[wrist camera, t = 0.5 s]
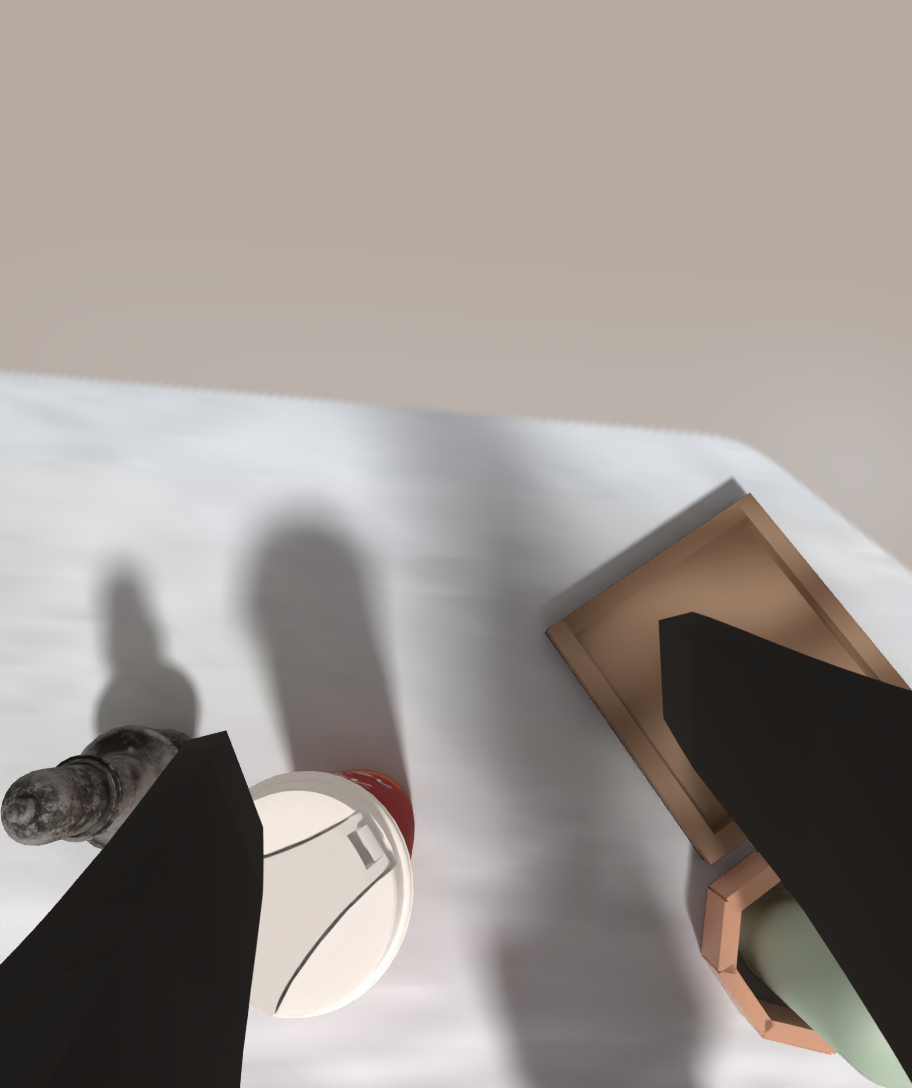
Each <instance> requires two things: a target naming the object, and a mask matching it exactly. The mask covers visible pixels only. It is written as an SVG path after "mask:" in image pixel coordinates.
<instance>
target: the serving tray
mask: <svg viewBox="0 0 912 1088" xmlns="http://www.w3.org/2000/svg"><path fill="white" fill-rule="evenodd" d="M689 612H695V613H699V614H702V615H705V616H708V617H710V618H713V619H716V620H718V621H721V622H724V623H726V624H729V625H731V626H734V627H737V628H739V629H742V630H744V631H747V632H749V633H752V634H754V635H757V636H759V637H762V638H764V639H767V640H769V641H772V642H774V643H777V644H779V645H782V646H784V647H787V648H790V649H792V650H795V651H797V652H800V653H803V654H805V655H808V656H811V657H813V658H816V659H819V660H821V661H824V662H827V663H830V664H832V665H835V666H838V667H841V668H844V669H846V670H849V671H852V672H855V673H858V674H861V675H864V676H867V677H870V678H873V679H876V680H879V681H882V682H885V683H888V684H891V685H895V686H898V687H901V688H905V689H908V690H911V688H910V687H909V686H908V685H907V684H906V682H905V681H904V680H903V679H902V677H901V676H900V675H899V674H898V673H897V671H896V670H895V669H894V668H893V666H892V665H891V664H890V663H889V662H888V660H887V659H886V658H885V657H884V655H883V654H882V653H881V652H880V651H879V649H878V648H877V647H876V646H875V645H874V643H873V642H872V641H871V640H870V638H869V637H868V636H867V635H866V634H865V632H864V631H863V630H862V629H861V627H860V626H859V625H858V624H857V623H856V621H855V620H854V619H853V618H852V616H851V615H850V614H849V613H848V612H847V610H846V609H845V608H844V607H843V605H842V604H841V603H840V602H839V601H838V599H837V598H836V597H835V596H834V594H833V593H832V592H831V591H830V590H829V588H828V587H827V586H826V585H825V584H824V582H823V581H822V580H821V579H820V577H819V576H818V575H817V574H816V573H815V571H814V570H813V569H812V568H811V566H810V565H809V564H808V563H807V562H806V560H805V559H804V558H803V557H802V555H801V554H800V553H799V552H798V551H797V549H796V548H795V547H794V546H793V544H792V543H791V542H790V541H789V540H788V538H787V537H786V536H785V535H784V533H783V532H782V531H781V530H780V529H779V527H778V526H777V525H776V524H775V522H774V521H773V520H772V519H771V518H770V516H769V515H768V514H767V513H766V512H765V510H764V509H763V508H762V507H761V505H760V504H759V503H758V502H757V501H756V499H755V498H754V497H753V496H752V494H751V493H749V494H748V495H746V496H745V497H743V498H742V499H740V500H739V501H737V502H736V503H734V504H733V505H731V506H730V507H728V508H727V509H725V510H724V511H722V512H721V513H719V514H718V515H716V516H715V517H713V518H712V519H711V520H709V521H708V522H706V523H705V524H703V525H702V526H700V527H699V528H697V529H696V530H694V531H693V532H691V533H690V534H688V535H687V536H685V537H684V538H682V539H681V540H679V541H678V542H676V543H675V544H674V545H672V546H671V547H669V548H668V549H666V550H665V551H663V552H662V553H660V554H659V555H657V556H656V557H654V558H653V559H651V560H650V561H648V562H647V563H645V564H644V565H642V566H641V567H639V568H638V569H637V570H635V571H634V572H632V573H631V574H629V575H628V576H626V577H625V578H623V579H622V580H620V581H619V582H617V583H616V584H614V585H613V586H611V587H610V588H608V589H607V590H605V591H604V592H602V593H601V594H600V595H598V596H597V597H595V598H594V599H592V600H591V601H589V602H588V603H586V604H585V605H583V606H582V607H580V608H579V609H577V610H576V611H574V612H573V613H571V614H570V615H568V616H567V617H565V618H564V619H562V620H561V621H560V622H558V623H557V624H555V625H554V626H552V627H551V628H549V629H548V630H547V631H546V632H545V633H546V634H547V636H548V637H549V639H550V640H551V642H552V643H553V644H554V646H555V647H556V649H557V650H558V652H559V653H560V654H561V656H562V657H563V659H564V660H565V662H566V663H567V665H568V666H569V667H570V669H571V670H572V672H573V673H574V675H575V676H576V678H577V679H578V680H579V682H580V683H581V685H582V686H583V688H584V689H585V691H586V692H587V693H588V695H589V696H590V698H591V699H592V701H593V702H594V704H595V705H596V706H597V708H598V709H599V711H600V712H601V714H602V715H603V717H604V718H605V719H606V721H607V722H608V724H609V725H610V727H611V728H612V730H613V731H614V732H615V734H616V735H617V737H618V738H619V740H620V741H621V743H622V744H623V745H624V747H625V748H626V750H627V751H628V753H629V754H630V755H631V757H632V758H633V760H634V761H635V763H636V764H637V766H638V767H639V768H640V770H641V771H642V773H643V774H644V776H645V777H646V779H647V780H648V781H649V783H650V784H651V786H652V787H653V789H654V790H655V792H656V793H657V794H658V796H659V797H660V799H661V800H662V802H663V803H664V805H665V806H666V807H667V809H668V810H669V812H670V813H671V815H672V816H673V818H674V819H675V820H676V822H677V823H678V825H679V826H680V828H681V829H682V831H683V832H684V833H685V835H686V836H687V838H688V839H689V841H690V842H691V844H692V845H693V846H694V848H695V849H696V851H697V852H698V854H699V855H700V856H701V858H702V859H703V860H705V861H706V862H708V863H709V864H711V865H712V864H713V863H714V862H716V861H717V860H718V859H720V858H721V857H722V856H724V855H725V854H726V853H728V852H729V851H730V850H732V849H733V848H734V847H736V846H737V845H738V844H740V843H741V842H742V841H744V840H745V839H746V838H747V837H746V835H745V834H744V833H743V832H742V830H741V829H740V828H739V827H738V825H737V824H736V823H735V822H734V820H733V819H732V818H731V817H730V815H729V814H728V813H727V812H726V810H725V809H724V808H723V806H722V805H721V804H720V803H719V801H718V800H717V799H716V797H715V796H714V795H713V794H712V792H711V791H710V790H709V788H708V787H707V786H706V785H705V783H704V782H703V781H702V779H701V778H700V777H699V775H698V774H697V773H696V772H695V770H694V769H693V767H692V766H691V764H690V762H689V761H688V759H687V758H686V756H685V754H684V753H683V751H682V749H681V748H680V746H679V745H678V743H677V741H676V739H675V738H674V736H673V734H672V732H671V731H670V729H669V727H668V725H667V724H666V722H665V720H664V719H663V702H662V682H661V661H660V641H659V620H661V619H665V618H669V617H673V616H677V615H681V614H685V613H689ZM911 691H912V690H911Z"/></svg>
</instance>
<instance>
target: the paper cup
mask: <svg viewBox="0 0 912 1088" xmlns="http://www.w3.org/2000/svg"><path fill="white" fill-rule="evenodd" d="M249 791H250V794H251V796H252V799H253V801H254V804H255V807H256V809H257V812H258V815H259V817H260V820H261V822H262V825H263V838H264V879H263V898H262V907H261V915H260V924H259V932H258V940H257V948H256V956H255V963H254V971H253V979H252V987H251V994H250V1002H249V1007H251V1008H253V1009H255V1010H258V1011H261V1012H264V1013H267V1014H269V1015H272V1016H275V1017H279V1018H301V1017H312V1016H317V1015H321V1014H326V1013H329V1012H331V1011H334V1010H336V1009H338V1008H341V1007H343V1006H345V1005H347V1004H349V1003H350V1002H352V1001H353V1000H355V999H356V998H358V997H360V996H361V995H362V994H363V993H365V992H366V991H367V990H368V989H369V988H370V987H371V986H373V985H374V984H375V983H376V982H377V981H378V979H379V978H380V977H381V976H382V975H383V973H384V972H385V971H386V970H387V968H388V967H389V966H390V964H391V962H392V961H393V959H394V957H395V956H396V954H397V952H398V951H399V948H400V946H401V943H402V941H403V939H404V936H405V934H406V931H407V927H408V923H409V920H410V916H411V911H412V902H413V872H412V866H411V856H412V849H413V842H414V828H415V825H414V816H413V811H412V807H411V804H410V802H409V800H408V798H407V796H406V794H405V793H404V791H403V790H402V789H401V788H400V786H399V785H398V784H397V783H395V782H394V781H393V780H392V779H390V778H389V777H387V776H385V775H383V774H380V773H377V772H373V771H367V770H355V771H347V772H340V773H334V774H330V773H325V772H317V771H298V772H290V773H286V774H281V775H277V776H274V777H272V778H269V779H267V780H264V781H262V782H260V783H258V784H256V785H255V786H253V787H251V788H249Z"/></svg>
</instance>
